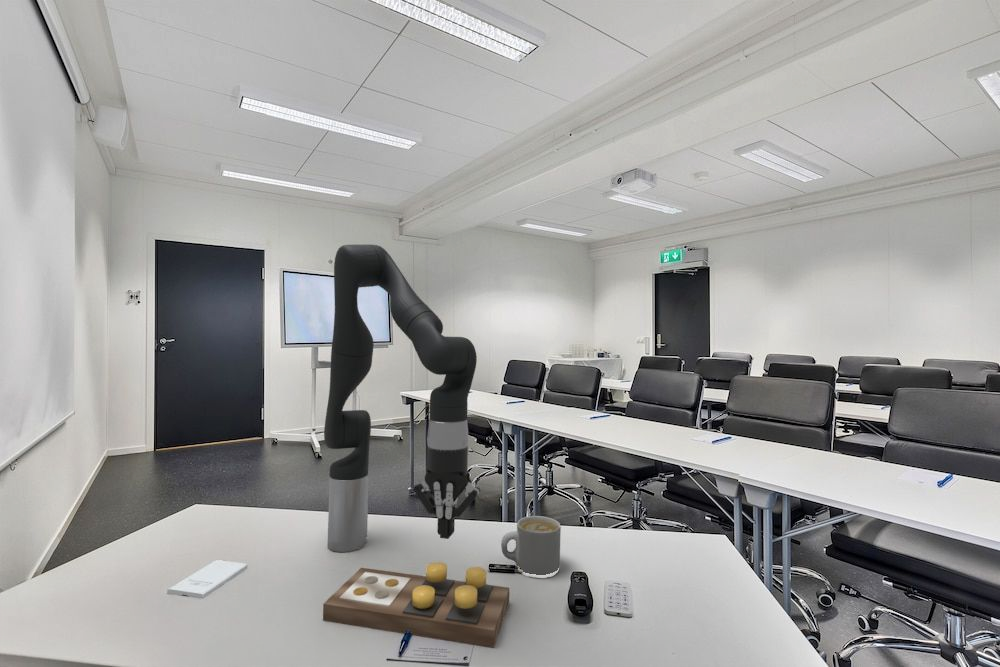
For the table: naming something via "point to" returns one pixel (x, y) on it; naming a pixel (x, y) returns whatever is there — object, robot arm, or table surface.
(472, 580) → the button
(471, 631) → the button board
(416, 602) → the button
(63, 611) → the table surface
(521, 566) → the coffee mug
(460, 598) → the button
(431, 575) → the button
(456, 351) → the robot arm
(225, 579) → the external hard drive
